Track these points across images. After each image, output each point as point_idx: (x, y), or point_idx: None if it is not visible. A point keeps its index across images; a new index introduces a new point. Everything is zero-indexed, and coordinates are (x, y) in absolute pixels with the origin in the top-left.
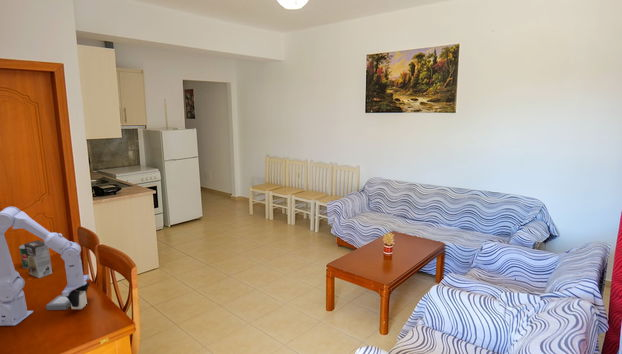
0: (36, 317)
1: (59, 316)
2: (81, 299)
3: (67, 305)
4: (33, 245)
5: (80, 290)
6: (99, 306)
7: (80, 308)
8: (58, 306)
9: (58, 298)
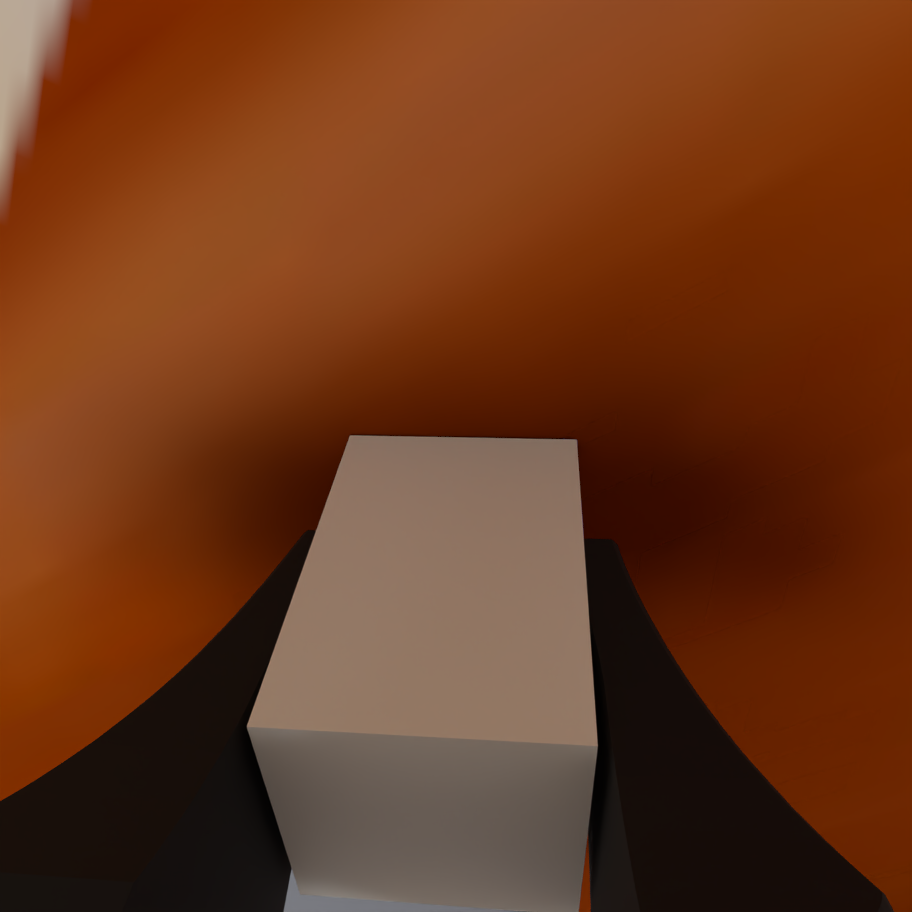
0: None
1: (813, 661)
2: (519, 598)
3: None
4: None
5: (262, 829)
6: (443, 30)
7: (577, 464)
8: None
9: None
